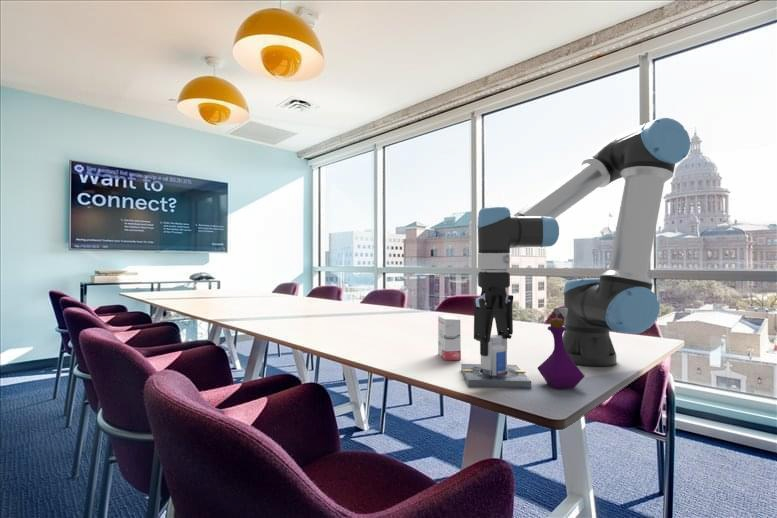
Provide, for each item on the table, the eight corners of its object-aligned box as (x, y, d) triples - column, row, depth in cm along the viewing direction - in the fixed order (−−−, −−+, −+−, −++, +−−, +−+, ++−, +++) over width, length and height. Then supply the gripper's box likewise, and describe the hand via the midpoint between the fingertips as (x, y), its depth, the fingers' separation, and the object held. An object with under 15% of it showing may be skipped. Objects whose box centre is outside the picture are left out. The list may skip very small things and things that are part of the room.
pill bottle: (505, 373, 101) (505, 334, 101) (506, 380, 96) (506, 338, 96) (482, 372, 102) (482, 333, 102) (482, 378, 97) (482, 337, 97)
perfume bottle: (536, 381, 96) (536, 305, 96) (567, 380, 97) (567, 305, 97) (552, 391, 89) (552, 309, 89) (585, 390, 90) (585, 309, 90)
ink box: (461, 360, 116) (461, 319, 116) (444, 360, 116) (444, 319, 116) (453, 353, 125) (453, 314, 125) (437, 353, 125) (437, 315, 124)
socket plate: (517, 370, 105) (517, 363, 105) (533, 388, 91) (533, 379, 91) (459, 369, 106) (459, 362, 106) (466, 386, 92) (466, 378, 92)
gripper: (483, 272, 90) (483, 377, 90) (528, 270, 102) (528, 363, 102) (457, 271, 96) (457, 370, 96) (502, 270, 108) (502, 357, 108)
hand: (493, 366), depth 99 cm, fingers closed on pill bottle, 5 cm apart
